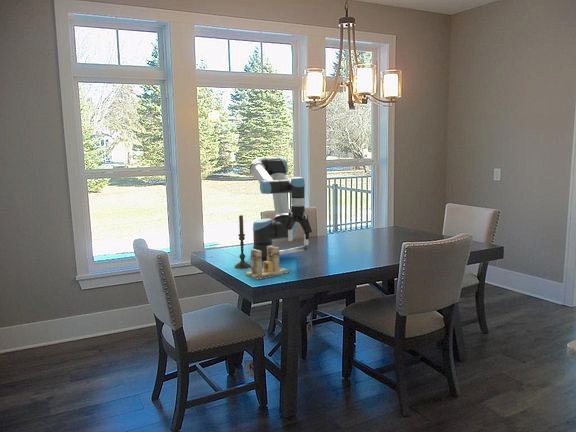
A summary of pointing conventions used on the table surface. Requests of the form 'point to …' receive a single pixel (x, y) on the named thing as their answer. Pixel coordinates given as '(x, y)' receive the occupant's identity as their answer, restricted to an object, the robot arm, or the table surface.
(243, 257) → the candlestick holder
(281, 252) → the shaft
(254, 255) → the shaft stand
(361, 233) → the table surface
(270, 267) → the spacer
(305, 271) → the table surface
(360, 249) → the table surface
